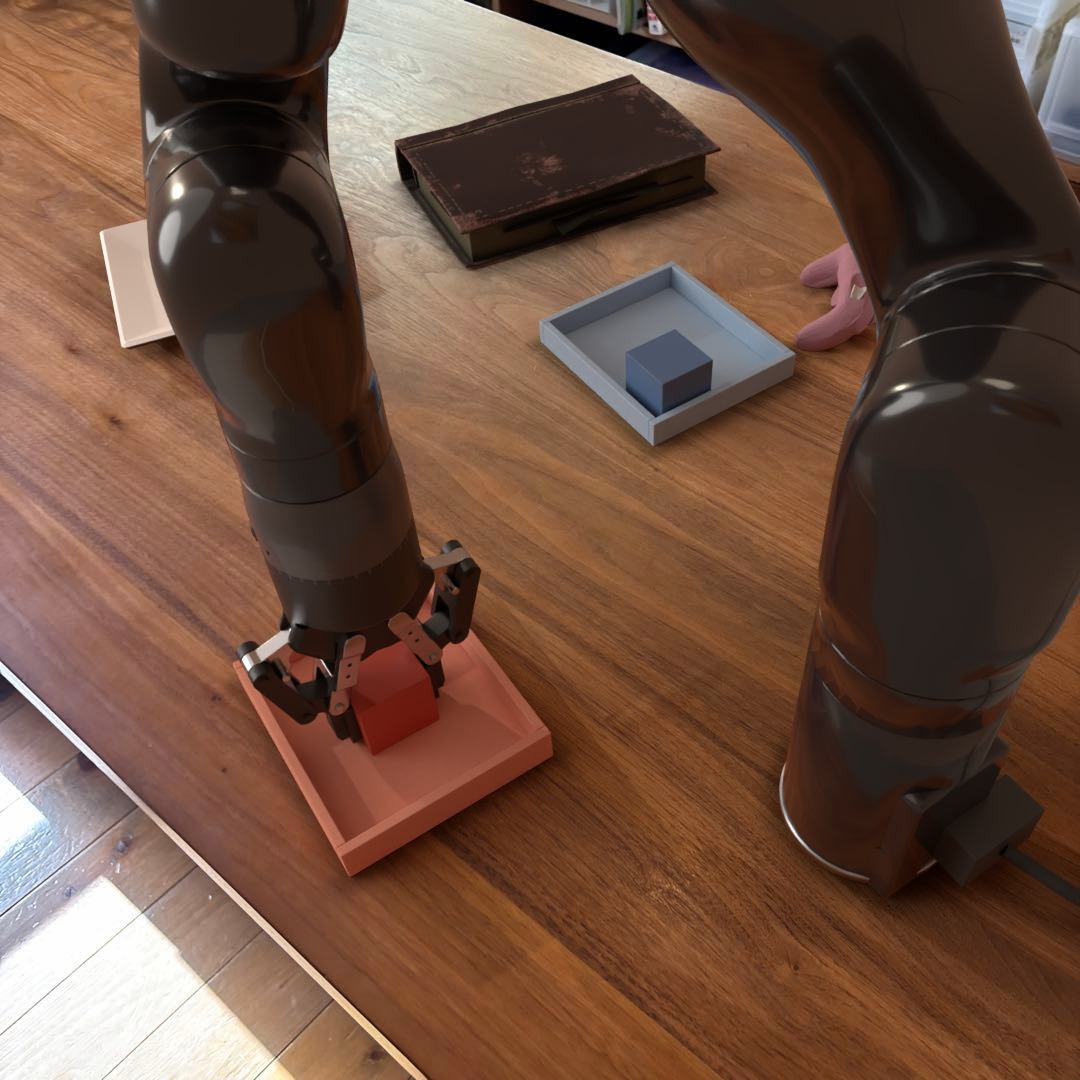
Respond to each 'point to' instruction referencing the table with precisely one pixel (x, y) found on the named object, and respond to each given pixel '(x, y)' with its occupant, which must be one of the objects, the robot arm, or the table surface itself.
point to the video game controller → (836, 301)
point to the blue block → (667, 372)
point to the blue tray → (648, 312)
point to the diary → (554, 170)
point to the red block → (392, 697)
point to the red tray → (410, 756)
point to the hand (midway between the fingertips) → (390, 709)
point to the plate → (134, 286)
